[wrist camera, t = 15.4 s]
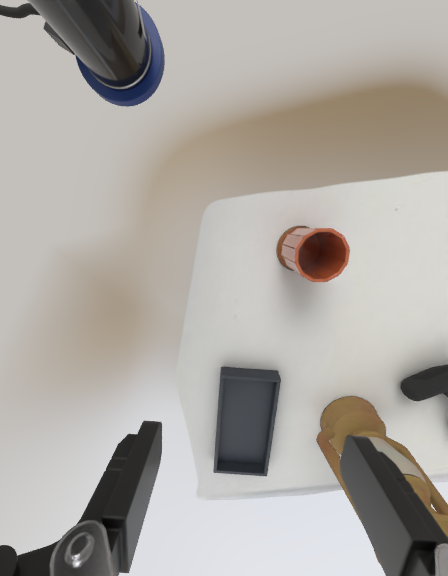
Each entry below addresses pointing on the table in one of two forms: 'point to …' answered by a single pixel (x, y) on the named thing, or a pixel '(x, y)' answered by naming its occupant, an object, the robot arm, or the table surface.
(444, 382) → the gaming controller
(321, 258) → the cup
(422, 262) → the table surface
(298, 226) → the coaster
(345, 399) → the lantern
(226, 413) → the tray
